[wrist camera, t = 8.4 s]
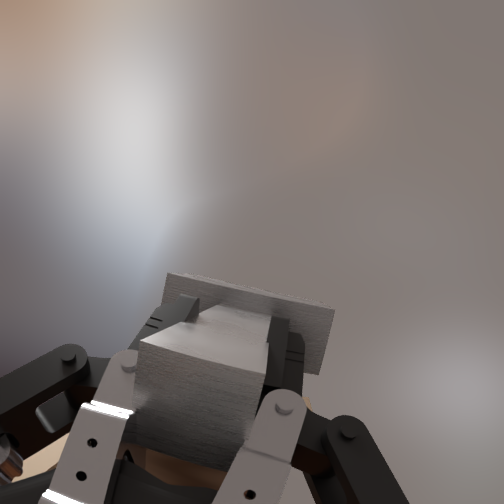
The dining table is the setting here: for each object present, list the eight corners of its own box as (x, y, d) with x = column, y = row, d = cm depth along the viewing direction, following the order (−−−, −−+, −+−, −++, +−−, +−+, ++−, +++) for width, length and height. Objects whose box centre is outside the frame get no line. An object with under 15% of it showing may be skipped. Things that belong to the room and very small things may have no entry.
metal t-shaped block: (33, 392, 7) (41, 265, 7) (183, 323, 24) (193, 273, 24) (367, 488, 6) (418, 355, 6) (308, 351, 23) (320, 301, 23)
